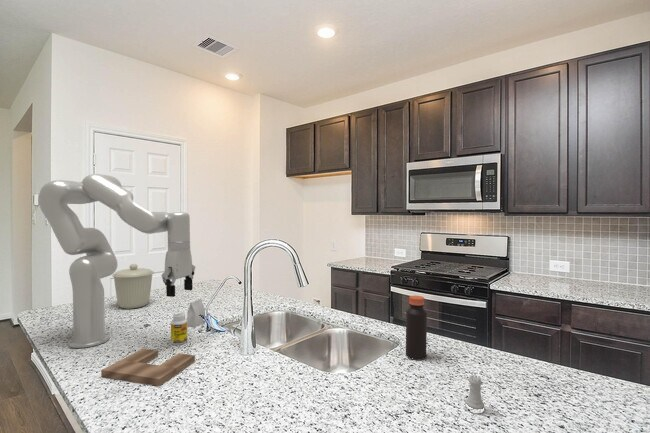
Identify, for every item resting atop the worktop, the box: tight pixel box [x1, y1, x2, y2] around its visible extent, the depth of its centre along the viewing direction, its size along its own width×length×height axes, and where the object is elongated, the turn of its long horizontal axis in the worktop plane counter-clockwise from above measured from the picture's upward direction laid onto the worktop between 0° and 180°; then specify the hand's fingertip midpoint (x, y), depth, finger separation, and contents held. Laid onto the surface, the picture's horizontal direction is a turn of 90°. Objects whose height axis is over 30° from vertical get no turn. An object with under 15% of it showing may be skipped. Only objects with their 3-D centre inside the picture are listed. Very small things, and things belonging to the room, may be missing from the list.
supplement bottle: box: [170, 312, 188, 346], centre depth 127 cm, size 6×6×10 cm
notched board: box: [100, 348, 196, 387], centre depth 106 cm, size 20×16×2 cm
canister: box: [111, 263, 154, 310], centre depth 172 cm, size 18×18×21 cm
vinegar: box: [405, 294, 428, 360], centre depth 116 cm, size 7×7×20 cm
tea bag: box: [186, 298, 206, 328], centre depth 146 cm, size 4×7×10 cm, turn 164°
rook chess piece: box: [465, 375, 485, 409], centre depth 86 cm, size 4×4×8 cm
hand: (179, 293), depth 126 cm, fingers open, 9 cm apart
